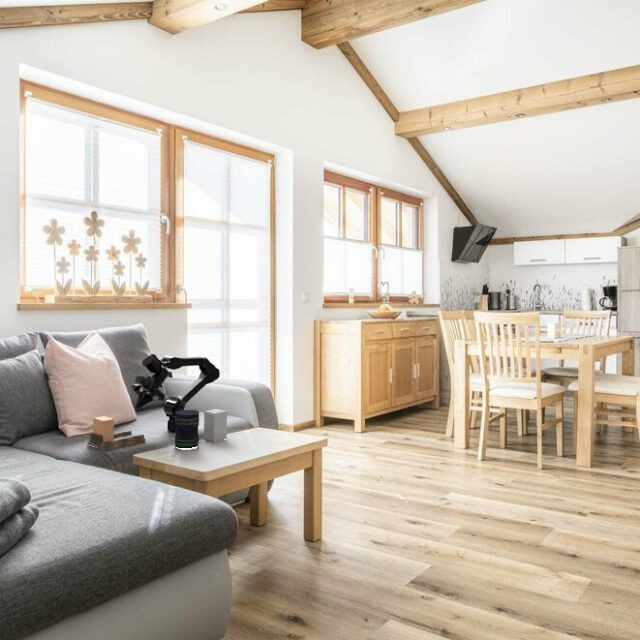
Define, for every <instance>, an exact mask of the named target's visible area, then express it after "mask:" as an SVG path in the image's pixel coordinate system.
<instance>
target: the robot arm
mask: <svg viewBox="0 0 640 640" xmlns="http://www.w3.org/2000/svg"><path fill="white" fill-rule="evenodd" d="M141 365H142V366H143V368H145V369H146V370H147V371H148V372H149V374H152V376H150V375H145V376H143V375H138V374H137V375H136V376H135V380H134V383H136V384H132V385H131V387H130V389H131V390H132V392H134V393H135V394H136V395H137V399H136V403H135V407H134V408H135V409H137V410H138V409H140V408H142V407H143V406H145V405H147V404H150V403H151V402H154V401H155V397H157V400H158V401H159V402H164V400H165V399H166V394H164V393H163V392H162V391H161V390H160V388H161V389H162V388H163V387H164V385H163V384H164V382H165V381H166V380H167V378H170V379H173V372H172V371H169V370H173V371H175V370H178V369H180V368H183V367H195V366H196V367H197V366H198V369H199V371H200V374H199V375H198V378H196V380H194V381H193V382H192V383H191V384H190V385H189V386H187V388H186V389H184V391H182V392H181V393H180V394H179V395H178V396H174V395H171V396H170V397H169V398H168V399H167V400H165V403H164V404H163V411H164V414H165V416H166V418H167V417H168V420H167V425H166V427H167V431H169V432H168V433H176V426H175V416H176V411H179V410H185V408H186V404H187V403H188V402H190V400H191V399H192V398H194V397H195V396H196V395H197V394H198V393H199V392H200V391H201V390H202V389H203V388H205V387H206V385H210V384H211V383H214V382H215V381H218V379H219V378H220V377H221V376H220V374H221V372H220V369H219V368H218V367H216V365H214V364H213V363H212V362H211V361H210V360H209V359H208V358H207V357H205V356H192V357H189V356H188V357H176V356H171V355H165V356H163V357H162V358H160V359H159V357H157V355H156V354H155V353H151V354H150V355H148V356H146V357H145V358H144V359H143V360H142V362H141ZM168 369H169V370H168Z"/></svg>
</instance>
